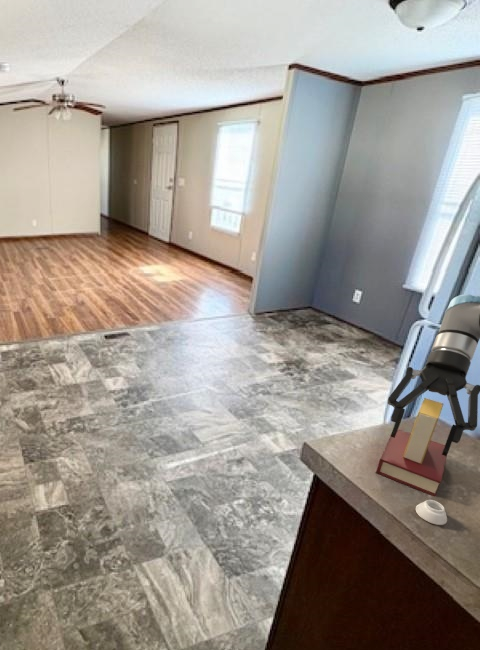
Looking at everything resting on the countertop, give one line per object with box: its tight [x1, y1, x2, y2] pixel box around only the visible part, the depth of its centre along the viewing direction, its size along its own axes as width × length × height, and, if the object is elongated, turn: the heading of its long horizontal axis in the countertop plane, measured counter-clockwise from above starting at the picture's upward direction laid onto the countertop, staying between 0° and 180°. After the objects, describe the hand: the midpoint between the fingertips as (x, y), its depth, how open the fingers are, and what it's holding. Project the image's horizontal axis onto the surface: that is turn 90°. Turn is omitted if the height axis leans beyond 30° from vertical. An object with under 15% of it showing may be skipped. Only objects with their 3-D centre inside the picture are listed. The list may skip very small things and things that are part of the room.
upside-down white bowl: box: [415, 499, 448, 526], centre depth 84 cm, size 5×3×5 cm
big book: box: [375, 428, 448, 497], centre depth 98 cm, size 16×11×4 cm
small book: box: [403, 397, 444, 464], centre depth 95 cm, size 4×8×12 cm, turn 137°
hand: (418, 444), depth 93 cm, fingers open, 9 cm apart
